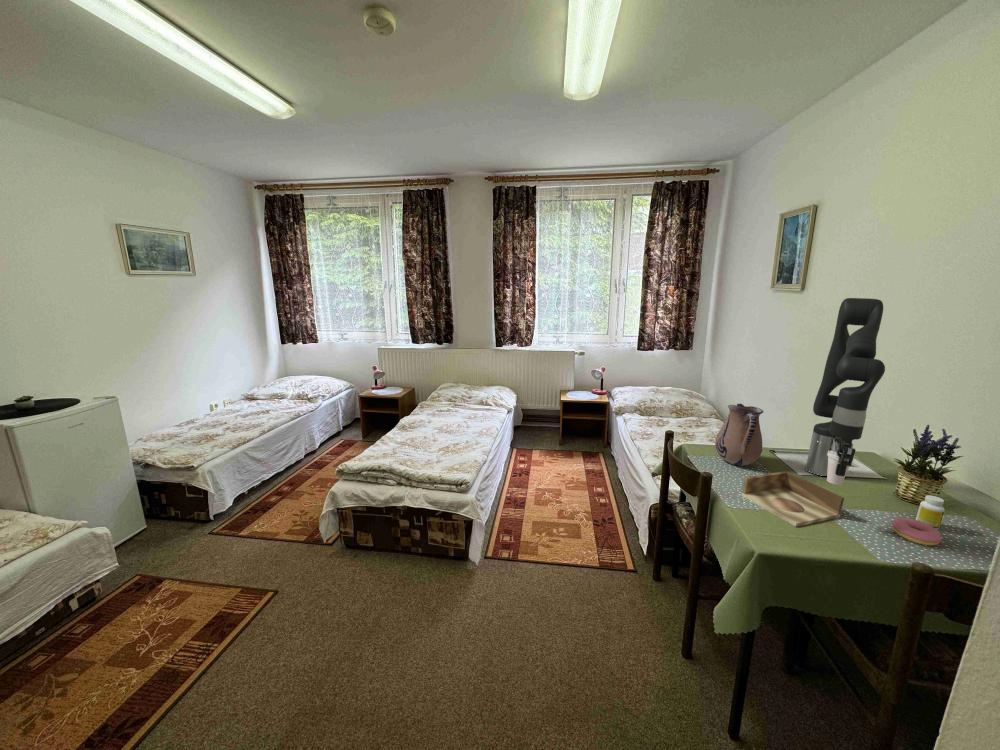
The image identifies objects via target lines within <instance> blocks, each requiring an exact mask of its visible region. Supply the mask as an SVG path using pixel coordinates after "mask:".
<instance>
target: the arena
mask: <svg viewBox="0 0 1000 750" xmlns="http://www.w3.org/2000/svg"><path fill="white" fill-rule="evenodd" d="M741 496H742V497H744V498H745V499H746V500H748V501H751V502H752V503H754V504H756V505H757V506H759V507H761V508H762V509H764V510H766V511H767V512H769V513H770V514H772V515H775V516H776V517H778V518H780V520H782V521H785V522H786V523H789V524H790V525H791V526H793V527H794V528H796V527H802V526H806V525H811V524H815V523H820V522H825V521H828V520H834V519H838V518H840V517H841V515H842V514H841V512H842V509H843V505H844V504H843V503H844V500H845V497H843V496H841V495H839V494H836V493H834V492H832V491H830V490H827V489H825V488H824V487H821V486H819V485H817V484H814V483H812V482H811V481H808V480H806V479H804V478H802V477H800V476H797V475H795V474H793V473H790V472H789V471H786V470H784V471H779V472H777V471H776V472H772V473H765V474H758V475H753V476H746V477H744V479H743V485H742V492H741Z"/></svg>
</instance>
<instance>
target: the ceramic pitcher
mask: <svg viewBox="0 0 1000 750" xmlns="http://www.w3.org/2000/svg"><path fill="white" fill-rule="evenodd" d="M727 408H728V409H729V413H728V416H727V417H726V419H725V420H724V422H723V424H722V425H721V426H720V427H721V428H720V429H719V431H718V433H717V435H716V438H715V442H714V444H715V446H714V447H715V450H716V452H717V454H718V455H719V456H720V458H721V459H722V460H723V461H725V462H727V463H729V464H731V465H734V466H739V467H741V466H744V467H745V466H749V465H751V464H753V463H754V462H755V461H757V460H758V458H759V457H761V455H762V453H763V436H762V435H763V434H762V431H761V425H760V416H761V414H763V413H764V409H762V408H759V407H757V406H752V405H751V406H748V405H747V406H745V405H744V404H743V403H736V405H735V404H729V405H727Z"/></svg>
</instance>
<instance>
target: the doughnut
mask: <svg viewBox="0 0 1000 750" xmlns="http://www.w3.org/2000/svg"><path fill="white" fill-rule="evenodd" d="M890 523H891V529H892V530H893V532H894V533H896V534H897V536H900V537H901V538H903V539H905V540H908V541H910V542H913V543H914V544H917V545H918V544H919V545H924V546H936V545H939V544H940V543H941V541H942V540H943V537H942V534H941V533H940V532H939V530H937V529H935V528H933V527H932V526H930V525H928V524H925V523H923V522H920V521H918V520H916V519H912V518H907V517H898V518H897V517H896V518H895V519H893V520H891V522H890Z"/></svg>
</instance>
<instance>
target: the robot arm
mask: <svg viewBox="0 0 1000 750" xmlns="http://www.w3.org/2000/svg"><path fill="white" fill-rule="evenodd" d="M883 314H884V303H883V301H882V300H881V299H877V298H863V297H862V298H861V297H859V298H858V297H848V298H847V297H846V298H845V299H843V300H842V302H841V304H840V306H839V308H838V313H837V319H836V325H835V330H834V335H833V339H832V341H831V345H830V349H829V351H828V354H827V357H826V362H825V365H824V366H825V367H824V370H823V375H822V379H821V382H820V386H819V388H818V391H817V393H816V395H815V399H814V402H813V407H812V409H813V410H812V411H813V414H814V415H816V416H818V417H823V418H827V419H831V420H830V421H827V422H820V423H816V424H814V426H813V429H812V435H811V441H810V445H809V448H808V449H809V450H808V455H807V460H806V465H805V468H806V469H807V470H808V471H810V472H812V473H815V474H818V475H822V476H827V469H828V455H827V453H828V451H830V450H833V451H836V456H837V457H838V461H837V467H836V471H835V474H836V475H838V476H845V472H846V468H847V466H849V467H851V466H852V463H853V461H854V459H853V457H854V458H855V453H856V451H857V450H856V448H854V443H853V441H854V440H860V439H861V438H862V435H863V431H864V426H865V423H866V419H867V409H868V406H869V401H870V399H871V398H870V397H871V396H872V393H873V391H874V389H875V388H876V386H877V384H878V383H879V382H880V381H881V379H882V377H883V376H884V374H885V372H886V365H885V363H884V362H883V361H882V360H881V359H877V358H876V356H877V338H878V334H879V332H880V331H879V330H880V326H881V322H882V319H883ZM849 325H850V326H861V327H860V328H859V329H857V330H855V331H853V332H852V333H851V334H850V332H849V328H848V326H849ZM847 381H855V382H863V383H862V384H861V385H858V386H847V387H846V386H844V387H841V388H840V389H839V392H838V395H833V394H831V393H832V392H833V390H835V389H836V388H837V387H839V386H840V385H842V384H844V383H845V382H847ZM840 453H842V454H840ZM844 459H846V461H844ZM852 460H853V461H852ZM806 469H805V470H806ZM808 471H807V472H808ZM845 477H846V476H845Z"/></svg>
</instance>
